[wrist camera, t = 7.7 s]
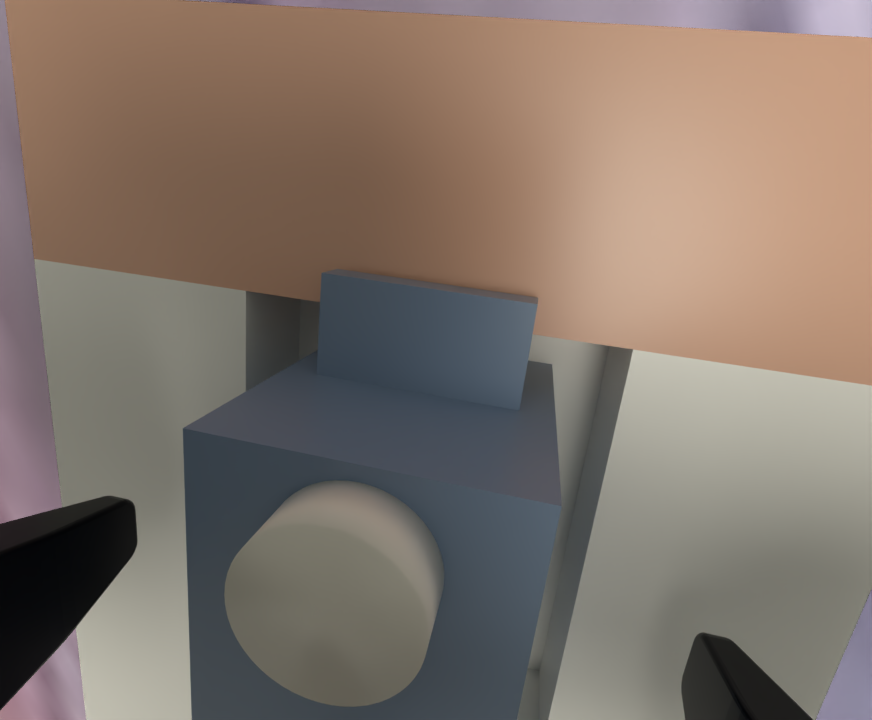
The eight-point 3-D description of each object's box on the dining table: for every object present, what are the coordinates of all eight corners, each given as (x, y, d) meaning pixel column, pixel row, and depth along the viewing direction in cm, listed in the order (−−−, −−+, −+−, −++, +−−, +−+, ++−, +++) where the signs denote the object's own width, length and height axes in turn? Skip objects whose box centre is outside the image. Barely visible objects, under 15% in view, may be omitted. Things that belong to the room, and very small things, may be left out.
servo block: (493, 675, 12) (451, 1077, 6) (329, 632, 12) (159, 962, 7) (567, 284, 9) (603, 382, 4) (354, 255, 10) (114, 301, 4)
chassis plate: (672, 801, 13) (710, 967, 10) (175, 661, 15) (91, 763, 12) (911, 107, 8) (1101, 50, 5) (148, 52, 11) (3, -10, 8)
